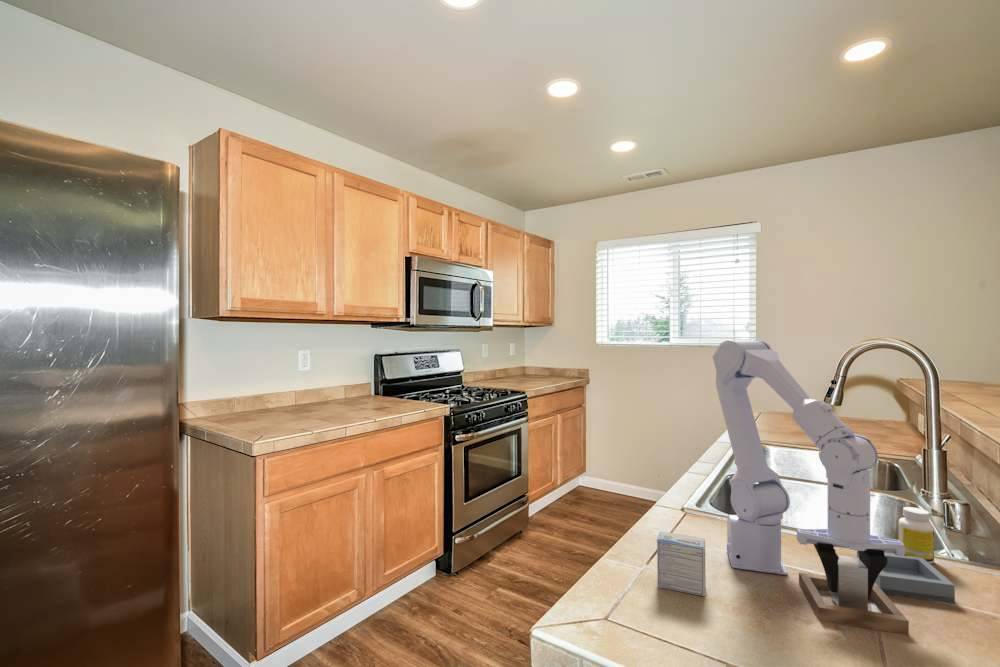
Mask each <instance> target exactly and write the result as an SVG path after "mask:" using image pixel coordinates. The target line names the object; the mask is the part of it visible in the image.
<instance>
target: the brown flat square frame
mask: <svg viewBox="0 0 1000 667" xmlns="http://www.w3.org/2000/svg"><path fill="white" fill-rule="evenodd" d="M798 584H799V586H800V588H801V591H802V592H803V593H804V595H805V597H806V599H807V601H808V603H809V604H810V606H811V608H812V610H813V611H814V613H815V615H816V617H817V619H818V620H819V621H824V622H830V623H836V624H841V625H848V626H853V627H854V626H855V627H860V628H867V629H870V630H871V629H874V630H877V631H884V632H890V633H897V634H904V635H910V632H909V631H910V630H909V628H910V626H909V624H910V623H909V620H908V618H906V617H905V615H904V614H903V613H902V612H901V610H900V609H899V608H898V607H897V606H896V604H894V603H893V601H892V600H891V599H890V598H889V597H888V595H887V593H884V592H883V591H882V590H881V589H880V587H879V586H878V585H877V584H876V583H874V585H873V588H872V591H871V595H870V599H871V600H872V602H873V603H874V604H875V606H876V607H877V608H878V609H879V611H880V612H878V611H871V610H868V611H866V610H859V609H853V608H846V607H840V606H837V605H832V604H827V603H826V602H825V600H824V599H823V597H822V596H821V594H820V592H819V591H825V592H830V589H829V587H828V583H827V578H826V575H820V574H815V573H814V574H811V573H807V572H806V573H805V572H798Z"/></svg>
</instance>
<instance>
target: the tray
mask: <svg viewBox="0 0 1000 667" xmlns="http://www.w3.org/2000/svg"><path fill="white" fill-rule="evenodd" d="M884 556H885V557H886V558H887V566H886V567H885V568H884V569H883V570H882V571H881V572H880V574H879V575H878V577H877V579H876V581H875V583H876V584H877V585H878V586H879V587H880V589H881V590H882V591H883V592H884V593H885V594H886V595H894V596H900V597H907V598H908V597H909V598H916V599H923V600H931V601H936V602H944V603H950V604H956V601H955V600H956V599H955V598H956V594H955V591H956V590H955V589H956V586H955V584H954V583H953V582H951V581H950V579H948V578H947V577H945V575H943V574H942V573H941V572H940V571H939V570H938V569H937V568H935V567H934V566H933V564H929V563H928V562H927V561H926V560H925V559H923V558H921V557H912V556H904V557H902V556H896V555H895V554H891V553H884ZM856 557H857V558H859V553H858V550H856Z"/></svg>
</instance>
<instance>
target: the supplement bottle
mask: <svg viewBox="0 0 1000 667" xmlns="http://www.w3.org/2000/svg"><path fill="white" fill-rule="evenodd" d="M902 514H903V516H904V517H900V518H899V519H898V539H897V540H899V541H900V542H901V543H903V544H904V556H912V557H921V558H923V559H925V560H926V561H927V562H928V563H929V564H930V565H932V564H931V563H933V562H935V527H934V526H933V525H934V524H932V523H930V522H929V521H930V512H929V511H928V510H926V509H922V508H919V507H913V506H903V509H902ZM933 564H934V563H933Z"/></svg>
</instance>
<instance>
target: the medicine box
mask: <svg viewBox="0 0 1000 667" xmlns="http://www.w3.org/2000/svg"><path fill="white" fill-rule="evenodd" d="M656 546H657V548H656V556H657V557H656V558H657V559H656V561H657V562H656V564H657V566H656V568H657V570H656V571H657V573H656V574H657V575H656V576H657V578H656V579H657V580H656V583H657V584H656V585H657V588H660V589H665V590H671V591H676V592H681V593H686V594H692V595H695V596H701V597H706V583H707V581H706V539H705V538H704V537H700V536H693V535H687V534H682V533H675V532H668V531H663V530H662V531H659V534H658V537H657V539H656Z"/></svg>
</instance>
